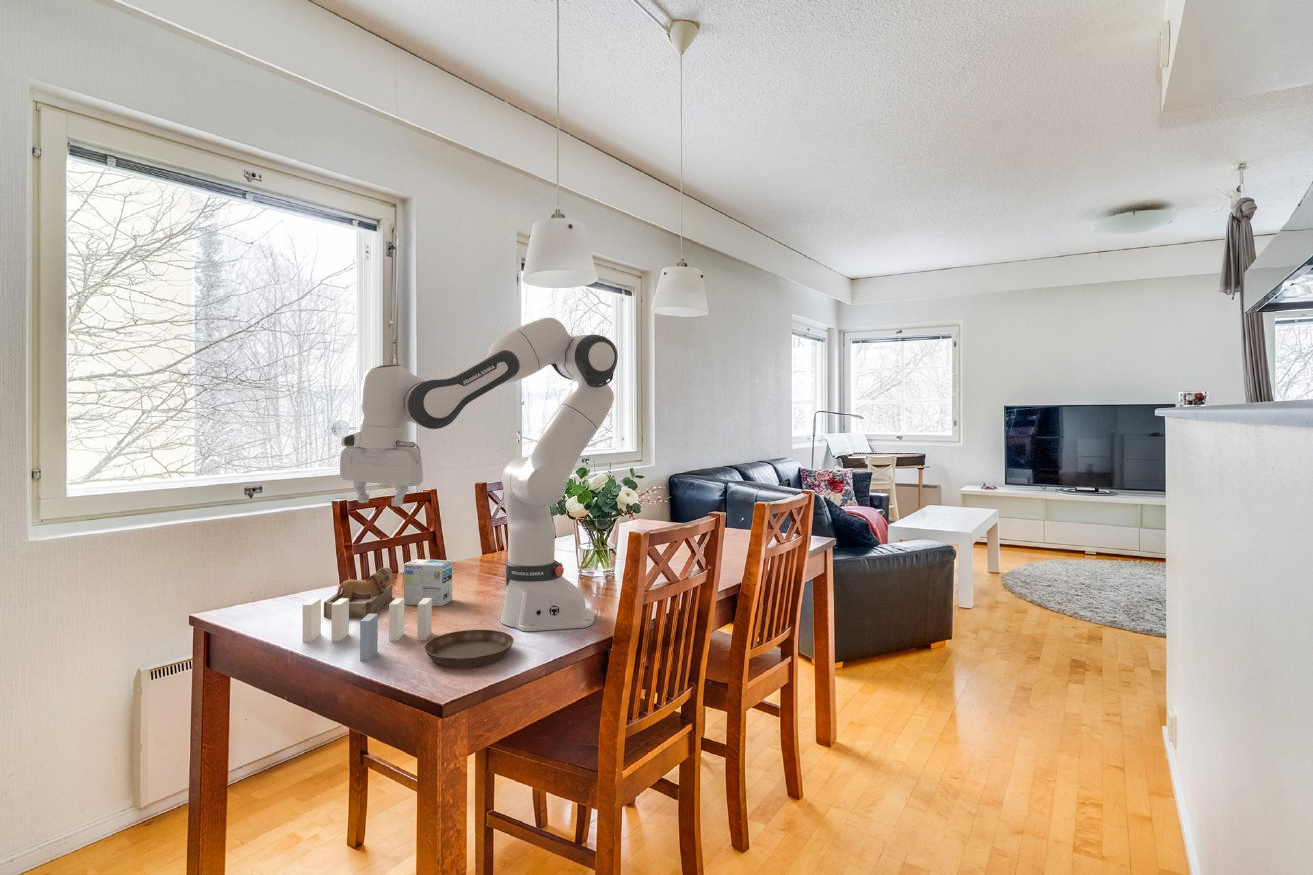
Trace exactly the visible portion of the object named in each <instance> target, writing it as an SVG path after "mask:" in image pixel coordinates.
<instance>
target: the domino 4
mask: <svg viewBox="0 0 1313 875" xmlns="http://www.w3.org/2000/svg"><path fill="white" fill-rule="evenodd" d="M388 607H389V608H388V614H389V616H388V641H389V642H398V641H399V640H400V638H402V637H403V635H404V634H405V605H404V597H396V598H394V599H393V600H392V601H391V602H390V603H389V604H388Z"/></svg>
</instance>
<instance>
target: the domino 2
mask: <svg viewBox="0 0 1313 875" xmlns="http://www.w3.org/2000/svg"><path fill="white" fill-rule="evenodd" d="M349 624H350V618H349V598H340V599H339V600H337V601H336V602H335V603H333V604H332V618H331V642H341V641H342V640H344V639H345V638H346V637H347V636H348V635H349V632H350V625H349Z"/></svg>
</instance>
